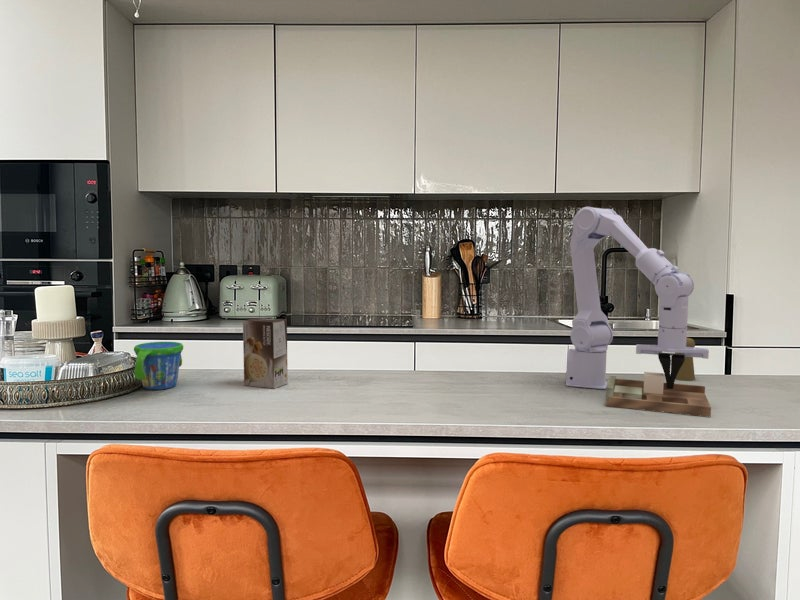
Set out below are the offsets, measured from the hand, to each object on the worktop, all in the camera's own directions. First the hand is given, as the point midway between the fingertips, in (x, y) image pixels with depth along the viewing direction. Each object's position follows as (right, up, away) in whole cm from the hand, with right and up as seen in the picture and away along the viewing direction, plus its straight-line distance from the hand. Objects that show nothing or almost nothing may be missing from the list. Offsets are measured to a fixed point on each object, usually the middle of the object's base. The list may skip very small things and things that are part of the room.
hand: (669, 387), depth 131 cm
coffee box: (-93, -1, +13) cm, 94 cm away
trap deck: (-4, -3, -2) cm, 5 cm away
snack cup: (-117, -1, +9) cm, 118 cm away
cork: (+15, -2, +26) cm, 31 cm away
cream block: (-3, -1, +1) cm, 4 cm away
